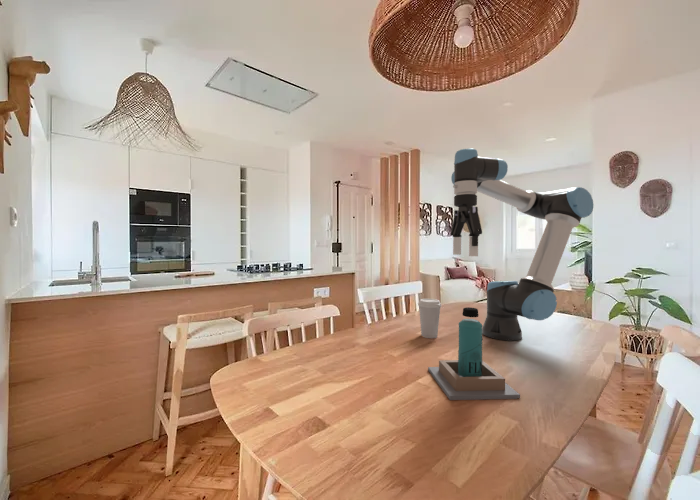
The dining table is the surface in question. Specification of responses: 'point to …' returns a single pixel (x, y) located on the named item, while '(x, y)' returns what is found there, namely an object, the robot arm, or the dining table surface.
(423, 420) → the dining table surface
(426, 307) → the coffee cup
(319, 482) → the dining table surface
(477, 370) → the beverage bottle
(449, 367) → the bottle stand
